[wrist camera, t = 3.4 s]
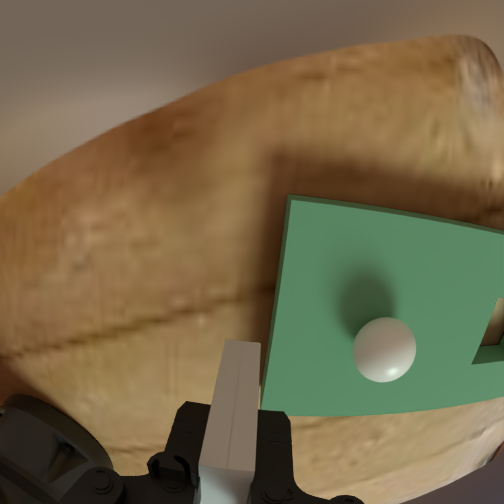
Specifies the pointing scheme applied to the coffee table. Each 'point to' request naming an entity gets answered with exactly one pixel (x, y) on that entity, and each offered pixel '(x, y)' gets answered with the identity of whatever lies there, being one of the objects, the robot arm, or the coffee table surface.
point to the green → (381, 309)
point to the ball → (384, 349)
